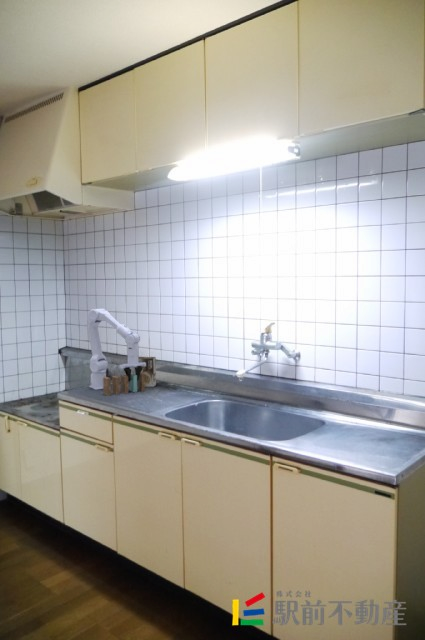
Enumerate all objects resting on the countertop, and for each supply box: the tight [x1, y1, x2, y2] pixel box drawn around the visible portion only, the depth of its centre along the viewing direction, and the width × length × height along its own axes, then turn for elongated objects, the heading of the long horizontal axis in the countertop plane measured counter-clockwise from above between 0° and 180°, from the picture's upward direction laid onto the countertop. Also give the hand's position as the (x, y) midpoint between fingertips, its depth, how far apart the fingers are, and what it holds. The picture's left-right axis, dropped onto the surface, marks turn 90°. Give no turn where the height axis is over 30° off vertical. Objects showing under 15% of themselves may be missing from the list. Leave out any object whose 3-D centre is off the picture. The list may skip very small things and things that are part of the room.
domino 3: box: [120, 374, 129, 394], centre depth 272 cm, size 2×5×9 cm, turn 34°
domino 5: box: [137, 373, 146, 392], centre depth 278 cm, size 2×5×9 cm, turn 34°
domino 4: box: [129, 373, 138, 393], centre depth 275 cm, size 2×5×9 cm, turn 34°
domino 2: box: [111, 375, 121, 395], centre depth 269 cm, size 2×5×9 cm, turn 34°
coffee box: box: [138, 356, 157, 388], centre depth 289 cm, size 9×6×16 cm
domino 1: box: [102, 376, 112, 396], centre depth 266 cm, size 2×5×9 cm, turn 34°
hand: (133, 380), depth 275 cm, fingers open, 4 cm apart
